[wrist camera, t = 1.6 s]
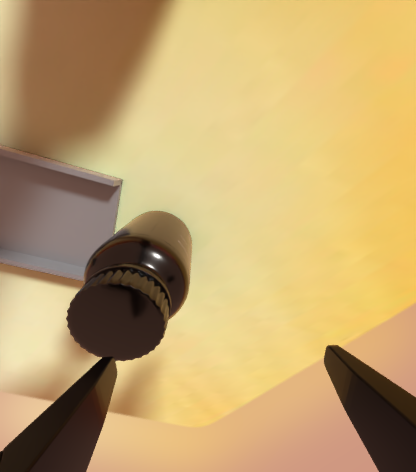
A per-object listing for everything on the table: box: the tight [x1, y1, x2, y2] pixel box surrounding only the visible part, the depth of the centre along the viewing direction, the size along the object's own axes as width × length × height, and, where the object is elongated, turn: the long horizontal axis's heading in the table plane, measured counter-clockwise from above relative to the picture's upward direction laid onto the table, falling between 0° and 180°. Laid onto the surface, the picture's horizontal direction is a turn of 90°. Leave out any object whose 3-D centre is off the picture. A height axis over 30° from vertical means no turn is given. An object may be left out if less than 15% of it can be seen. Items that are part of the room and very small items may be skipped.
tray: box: [0, 145, 123, 281], centre depth 19 cm, size 14×10×2 cm
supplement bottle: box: [66, 211, 192, 361], centre depth 16 cm, size 7×7×12 cm
